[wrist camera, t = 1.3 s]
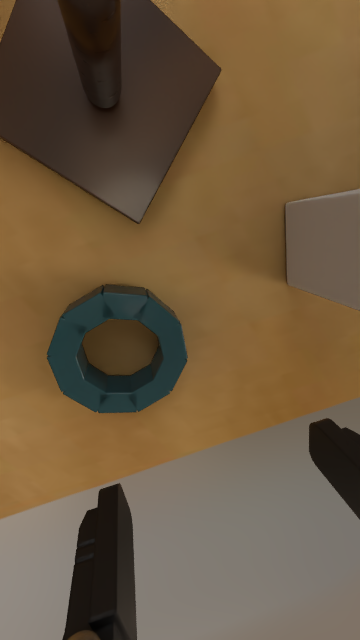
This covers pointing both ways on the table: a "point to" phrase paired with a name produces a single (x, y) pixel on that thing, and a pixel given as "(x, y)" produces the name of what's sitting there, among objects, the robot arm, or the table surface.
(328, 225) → the milk carton
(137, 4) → the stand
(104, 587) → the robot arm
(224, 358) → the table surface
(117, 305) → the ring
